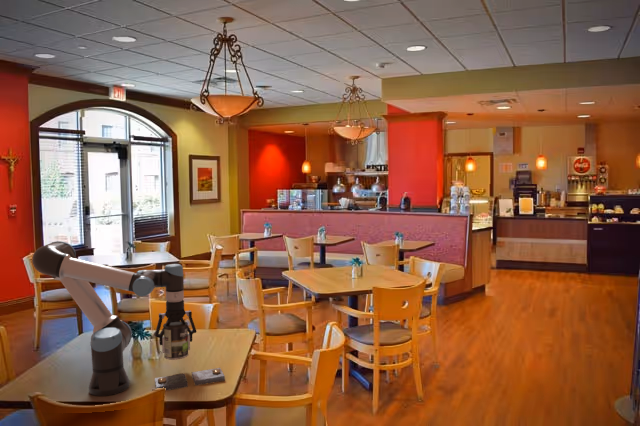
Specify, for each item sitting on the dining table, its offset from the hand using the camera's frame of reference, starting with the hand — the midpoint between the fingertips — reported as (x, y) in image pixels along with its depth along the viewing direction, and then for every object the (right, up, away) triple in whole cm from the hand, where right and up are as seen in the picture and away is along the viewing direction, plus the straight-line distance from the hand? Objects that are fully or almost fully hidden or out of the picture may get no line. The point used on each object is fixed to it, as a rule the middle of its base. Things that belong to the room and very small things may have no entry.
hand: (176, 350), depth 229 cm
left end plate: (+2, -10, -14) cm, 17 cm away
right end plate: (+16, -10, -8) cm, 20 cm away
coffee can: (0, -3, 0) cm, 3 cm away
